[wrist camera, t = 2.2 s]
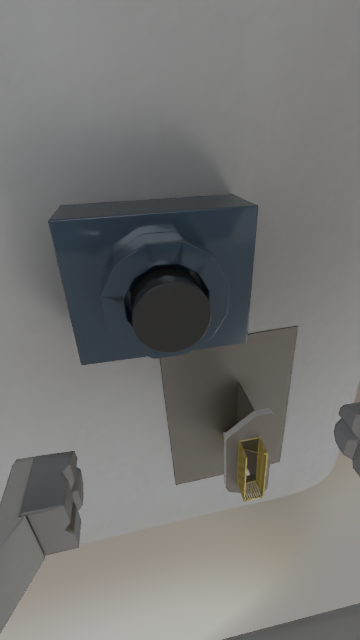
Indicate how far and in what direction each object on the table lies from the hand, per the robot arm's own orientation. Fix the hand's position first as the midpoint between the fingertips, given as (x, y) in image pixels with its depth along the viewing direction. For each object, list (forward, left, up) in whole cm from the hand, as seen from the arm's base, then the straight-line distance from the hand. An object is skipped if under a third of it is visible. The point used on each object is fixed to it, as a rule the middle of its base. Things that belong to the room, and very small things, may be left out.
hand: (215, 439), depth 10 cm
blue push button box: (0, 0, -15) cm, 15 cm away
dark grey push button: (0, 0, -9) cm, 9 cm away
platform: (-6, +16, -15) cm, 23 cm away
